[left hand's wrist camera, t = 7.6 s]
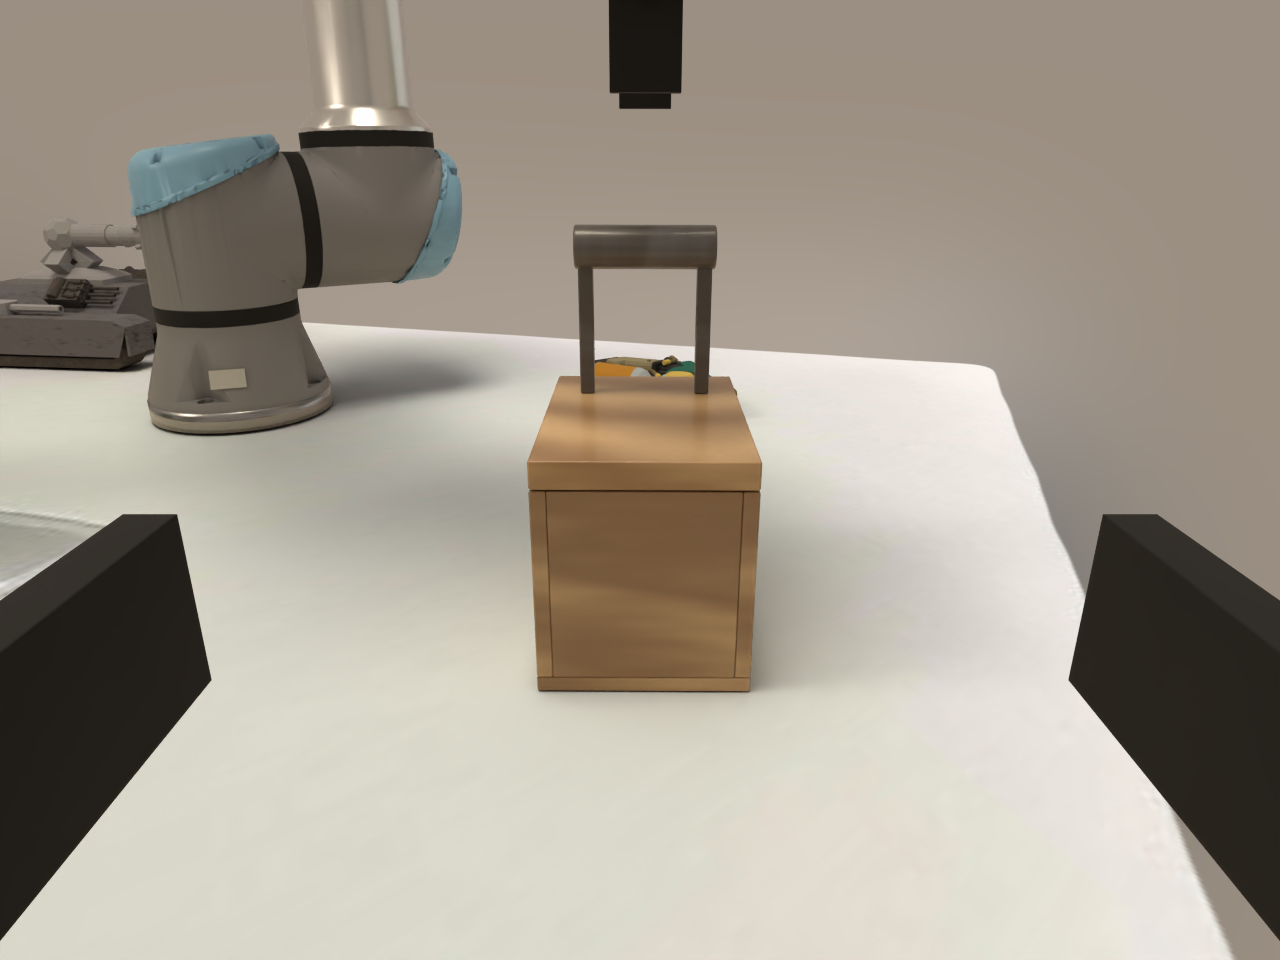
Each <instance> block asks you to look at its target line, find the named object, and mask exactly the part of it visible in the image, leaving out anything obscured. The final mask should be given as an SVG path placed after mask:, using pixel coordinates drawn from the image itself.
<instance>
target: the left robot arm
mask: <svg viewBox="0 0 1280 960" xmlns="http://www.w3.org/2000/svg"><path fill="white" fill-rule="evenodd" d="M210 681H211V675H210V670H209V665H208V661H207V656H206V651H205V646H204V642H203V637H202V632H201V627H200V622H199V618H198V613H197V608H196V603H195V598H194V594H193V589H192V584H191V579H190V574H189V570H188V565H187V560H186V555H185V550H184V546H183V541H182V536H181V531H180V526H179V522H178V517H177V514H123V515H121V516H120V517H119V518H117V519H116V520H114V521H113V522H111V523H110V524H109V525H107V526H106V527H104V528H103V529H101V530H100V531H99V532H97V533H96V534H94V535H93V536H91V537H90V538H89V539H87V540H86V541H84V542H83V543H82V544H80V545H79V546H77V547H76V548H74V549H73V550H72V551H70V552H69V553H67V554H66V555H64V556H63V557H62V558H60V559H59V560H57V561H56V562H54V563H53V564H52V565H50V566H49V567H47V568H46V569H45V570H43V571H42V572H40V573H39V574H37V575H36V576H35V577H33V578H32V579H30V580H29V581H27V582H26V583H25V584H23V585H22V586H20V587H19V588H17V589H16V590H15V591H13V592H12V593H10V594H9V595H8V596H6V597H5V598H3V599H2V600H0V940H1V939H2V938H3V937H4V936H5V934H6V933H7V932H8V931H9V929H10V928H11V927H12V926H13V924H14V923H15V922H16V921H17V919H18V918H19V917H20V916H21V915H22V913H23V912H24V911H25V910H26V908H27V907H28V906H29V905H30V903H31V902H32V901H33V900H34V898H35V897H36V896H37V895H38V894H39V892H40V891H41V890H42V889H43V887H44V886H45V885H46V884H47V882H48V881H49V880H50V879H51V877H52V876H53V875H54V874H55V873H56V871H57V870H58V869H59V868H60V866H61V865H62V864H63V863H64V861H65V860H66V859H67V858H68V857H69V855H70V854H71V853H72V852H73V850H74V849H75V848H76V847H77V845H78V844H79V843H80V842H81V840H82V839H83V838H84V837H85V836H86V834H87V833H88V832H89V831H90V829H91V828H92V827H93V826H94V824H95V823H96V822H97V821H98V819H99V818H100V817H101V816H102V815H103V813H104V812H105V811H106V810H107V808H108V807H109V806H110V805H111V803H112V802H113V801H114V800H115V799H116V797H117V796H118V795H119V794H120V792H121V791H122V790H123V789H124V787H125V786H126V785H127V784H128V782H129V781H130V780H131V779H132V778H133V776H134V775H135V774H136V773H137V771H138V770H139V769H140V768H141V766H142V765H143V764H144V763H145V761H146V760H147V759H148V758H149V757H150V755H151V754H152V753H153V752H154V750H155V749H156V748H157V747H158V745H159V744H160V743H161V742H162V741H163V739H164V738H165V737H166V736H167V734H168V733H169V732H170V731H171V729H172V728H173V727H174V726H175V724H176V723H177V722H178V721H179V720H180V718H181V717H182V716H183V715H184V713H185V712H186V711H187V710H188V708H189V707H190V706H191V705H192V703H193V702H194V701H195V700H196V699H197V697H198V696H199V695H200V694H201V692H202V691H203V690H204V689H205V687H206V686H207V685H208V684H209V682H210ZM1069 681H1070V682H1071V684H1072V685H1073V686H1074V687H1075V689H1076V690H1077V691H1078V692H1079V694H1080V695H1081V696H1082V697H1083V699H1084V700H1085V701H1086V702H1087V703H1088V705H1089V706H1090V707H1091V708H1092V710H1093V711H1094V712H1095V713H1096V715H1097V716H1098V717H1099V718H1100V720H1101V721H1102V722H1103V723H1104V724H1105V726H1106V727H1107V728H1108V729H1109V731H1110V732H1111V733H1112V734H1113V736H1114V737H1115V738H1116V739H1117V741H1118V742H1119V743H1120V744H1121V745H1122V747H1123V748H1124V749H1125V750H1126V752H1127V753H1128V754H1129V755H1130V757H1131V758H1132V759H1133V760H1134V761H1135V763H1136V764H1137V765H1138V766H1139V768H1140V769H1141V770H1142V771H1143V773H1144V774H1145V775H1146V776H1147V778H1148V779H1149V780H1150V781H1151V782H1152V784H1153V785H1154V786H1155V787H1156V789H1157V790H1158V791H1159V792H1160V794H1161V795H1162V796H1163V797H1164V799H1165V800H1166V801H1167V802H1168V803H1169V805H1170V806H1171V807H1172V808H1173V810H1174V811H1175V812H1176V813H1177V815H1178V816H1179V817H1180V818H1181V819H1182V821H1183V822H1184V823H1185V824H1186V826H1187V827H1188V828H1189V829H1190V831H1191V832H1192V833H1193V834H1194V835H1195V837H1196V838H1197V839H1198V840H1199V842H1200V843H1201V844H1202V845H1203V847H1204V848H1205V849H1206V850H1207V852H1208V853H1209V854H1210V855H1211V857H1212V858H1213V859H1214V860H1215V861H1216V863H1217V864H1218V865H1219V866H1220V867H1221V869H1222V870H1223V871H1224V873H1225V874H1226V875H1227V876H1228V877H1229V879H1230V880H1231V881H1232V882H1233V884H1234V885H1235V886H1236V887H1237V889H1238V890H1239V891H1240V892H1241V894H1242V895H1243V896H1244V897H1245V898H1246V900H1247V901H1248V902H1249V903H1250V905H1251V906H1252V907H1253V908H1254V910H1255V911H1256V912H1257V913H1258V915H1259V916H1260V917H1261V918H1262V919H1263V921H1264V922H1265V923H1266V924H1267V926H1268V927H1269V928H1270V929H1271V931H1272V932H1273V933H1274V934H1275V936H1276V937H1277V938H1278V939H1279V940H1280V600H1278V599H1277V598H1275V597H1274V596H1272V595H1271V594H1270V593H1268V592H1267V591H1265V590H1264V589H1263V588H1261V587H1260V586H1258V585H1257V584H1255V583H1254V582H1253V581H1251V580H1250V579H1248V578H1247V577H1245V576H1244V575H1243V574H1241V573H1240V572H1238V571H1237V570H1235V569H1234V568H1232V567H1231V566H1230V565H1228V564H1227V563H1226V562H1224V561H1223V560H1221V559H1220V558H1218V557H1217V556H1216V555H1214V554H1213V553H1211V552H1210V551H1208V550H1207V549H1206V548H1204V547H1203V546H1201V545H1200V544H1198V543H1197V542H1196V541H1194V540H1193V539H1191V538H1190V537H1189V536H1187V535H1186V534H1184V533H1183V532H1181V531H1180V530H1179V529H1177V528H1176V527H1174V526H1173V525H1171V524H1170V523H1169V522H1167V521H1166V520H1164V519H1163V518H1161V517H1160V516H1159V515H1157V514H1103V517H1102V522H1101V526H1100V531H1099V536H1098V541H1097V546H1096V551H1095V555H1094V560H1093V565H1092V570H1091V574H1090V579H1089V584H1088V589H1087V594H1086V598H1085V603H1084V608H1083V613H1082V618H1081V622H1080V627H1079V632H1078V637H1077V642H1076V646H1075V651H1074V656H1073V661H1072V665H1071V670H1070V675H1069Z"/></svg>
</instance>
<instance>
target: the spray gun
mask: <svg viewBox="0 0 1280 960" xmlns="http://www.w3.org/2000/svg"><path fill="white" fill-rule="evenodd" d="M694 370H695V363H694V362H692V361H684V362H681V361H678V359H677V358H675V357H674V356H670V357H666V358H665V359H664V360H654V359H642V358H631V357H614V358H607V359H600V360H595V376H651V377H694ZM709 377H711V376H710V375H709ZM734 390H735V389H734ZM735 393H736V396H737V391H736V390H735Z"/></svg>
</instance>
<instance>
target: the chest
mask: <svg viewBox="0 0 1280 960" xmlns="http://www.w3.org/2000/svg"><path fill="white" fill-rule="evenodd" d="M760 495H761V494H760V491H728V490H529V512H530V533H531V554H532V575H533V596H534V617H535V638H536V659H537V675H538V677H537V682H538V690H607V691H749V690H750V673H751V655H752V637H753V620H754V602H755V584H756V566H757V548H758V530H759V513H760Z"/></svg>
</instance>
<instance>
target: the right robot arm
mask: <svg viewBox="0 0 1280 960" xmlns="http://www.w3.org/2000/svg"><path fill="white" fill-rule="evenodd" d="M299 1H300V9H301V16H302V24H303V32H304V39H305V47H306V55H307V62H308V70H309V78H310V86H311V93H312V101H313V110H312V113H311V114H310V115H309V117H308V118H307V119H306V120H305V122H304V123H303V124H302V125H301V126H300V128H299V140H300V147H301V151H300V152H278V151H279V149H280V148H279V144H278V143H277V142H276V140H275V138H274V136H273V135H271V134H262V135H253V136H244V137H237V138H228V139H219V140H211V141H203V142H195V143H188V144H180V145H172V146H164V147H157V148H150V149H145V150H141V151H139V152H138V153H136V154H135V155H134V156H133V157H132V158H131V160H130V162H129V164H128V179H129V186H130V193H131V200H132V206H133V207H132V208H131V214H132V216H136V221H137V226H138V231H139V237H140V242H141V247H142V252H143V258H144V263H145V269H146V274H147V279H148V285H149V290H150V296H151V301H152V306H153V310H154V316H155V321H156V327H157V340H156V346H155V353H154V359H153V366H152V372H151V379H150V385H149V391H148V400H147V402H148V406H149V411H150V416H151V421H152V422H153V423H154V424H155V425H156V426H158V427H161V428H163V429H167V430H171V431H176V432H184V433H201V434H214V433H234V432H245V431H253V430H260V429H267V428H272V427H277V426H282V425H287V424H291V423H294V422H298V421H301V420H304V419H307V418H310V417H313V416H315V415H317V414H319V413H321V412H323V411H325V410H326V409H327V408H329V407H330V406H331V404H332V402H333V398H332V391H331V383H330V381H329V378H328V376H327V374H326V372H325V370H324V368H323V366H322V364H321V361H320V359H319V357H318V355H317V353H316V351H315V349H314V347H313V345H312V343H311V341H310V339H309V337H308V335H307V333H306V331H305V329H304V327H303V324H302V321H301V317H300V310H299V303H298V295H297V290H298V289H301V288H314V287H315V288H316V287H328V286H341V285H355V284H369V283H382V282H393V283H396V284H399V283H403V282H405V281H407V280H415V279H423V278H430V277H433V276H436V275H438V274H439V273H441V272H442V271H443V270H444V269H445V268H446V267H447V265H448V264H449V262H450V261H451V259H452V256H453V253H454V252H455V249H456V246H457V243H458V238H459V233H460V227H461V217H462V193H461V184H460V179H459V178H458V177H457V168H456V165H455V163H454V161H453V160H452V158H451V157H450V156H449V155H448V154H446V153H444V152H442V151H441V150H434V142H433V132H432V129H431V128H430V127H429V126H428V125H427V124H426V123H425V122H424V121H423V120H422V119H421V118H420V117H419V116H418V115H417V113H416V112H415V110H414V108H413V100H412V90H411V79H410V69H409V59H408V48H407V37H406V27H405V16H404V6H403V0H299ZM682 19H683V0H609V62H610V93H619V108H620V109H671V93H681V76H682Z"/></svg>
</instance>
